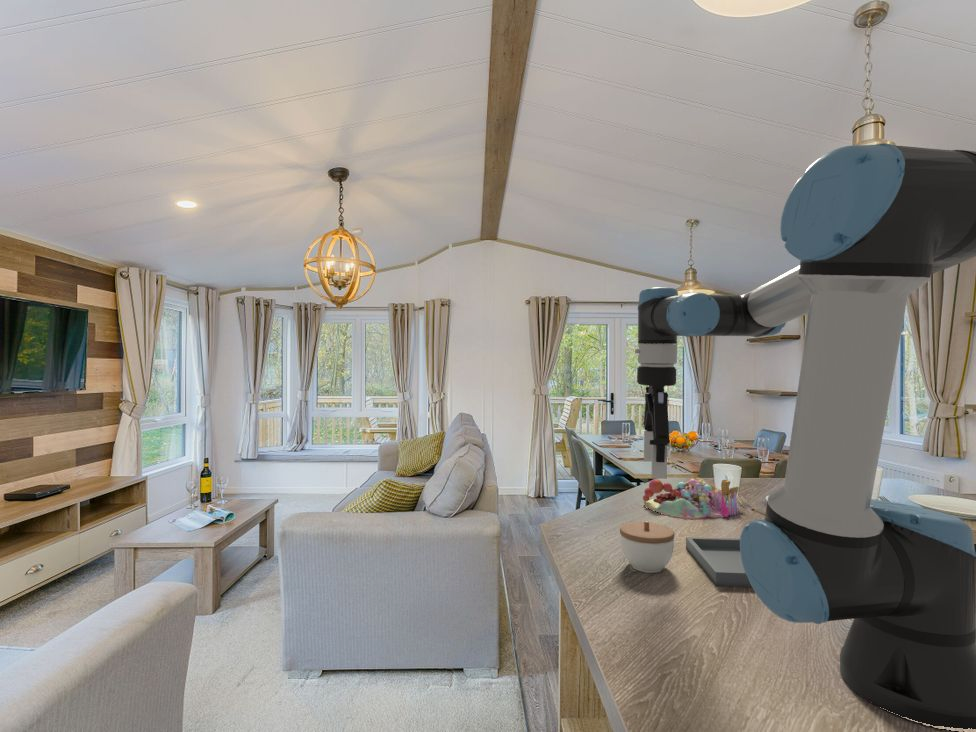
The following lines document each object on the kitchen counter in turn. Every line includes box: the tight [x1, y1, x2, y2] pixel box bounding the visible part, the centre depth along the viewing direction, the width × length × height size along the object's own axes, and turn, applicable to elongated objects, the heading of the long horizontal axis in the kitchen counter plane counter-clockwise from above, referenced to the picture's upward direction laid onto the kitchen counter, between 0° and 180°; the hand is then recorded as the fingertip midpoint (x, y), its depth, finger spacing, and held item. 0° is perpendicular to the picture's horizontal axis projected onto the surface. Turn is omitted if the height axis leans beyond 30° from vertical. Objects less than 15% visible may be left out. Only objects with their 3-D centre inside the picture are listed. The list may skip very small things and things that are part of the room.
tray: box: [685, 536, 752, 588], centre depth 104 cm, size 20×20×2 cm
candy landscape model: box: [642, 477, 740, 520], centre depth 148 cm, size 25×24×9 cm
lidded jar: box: [619, 520, 675, 574], centre depth 104 cm, size 11×11×9 cm
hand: (654, 469), depth 103 cm, fingers open, 13 cm apart
